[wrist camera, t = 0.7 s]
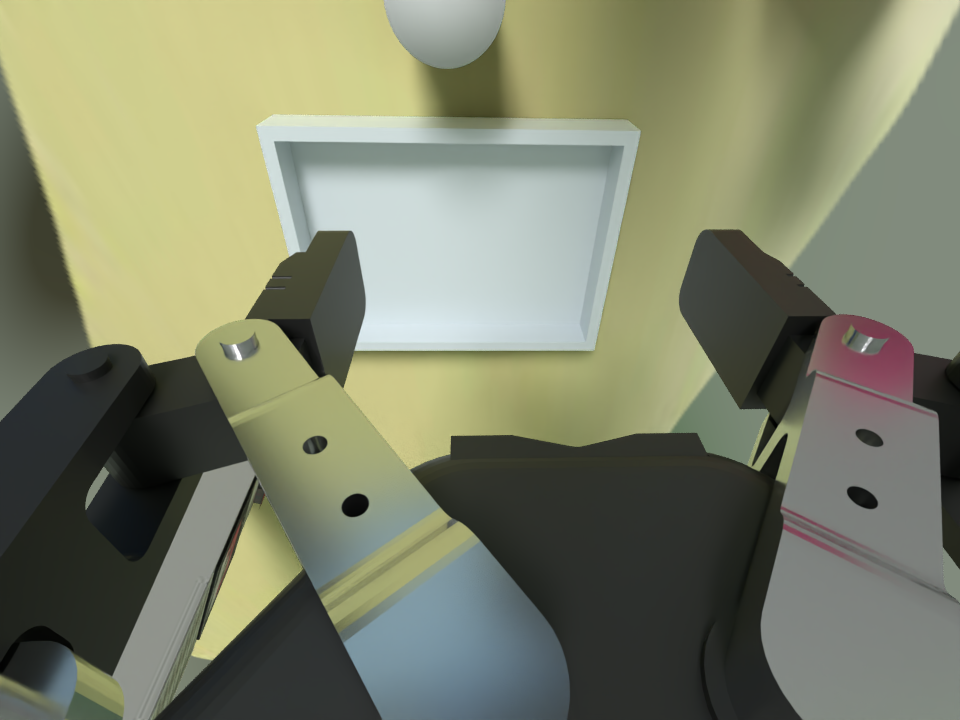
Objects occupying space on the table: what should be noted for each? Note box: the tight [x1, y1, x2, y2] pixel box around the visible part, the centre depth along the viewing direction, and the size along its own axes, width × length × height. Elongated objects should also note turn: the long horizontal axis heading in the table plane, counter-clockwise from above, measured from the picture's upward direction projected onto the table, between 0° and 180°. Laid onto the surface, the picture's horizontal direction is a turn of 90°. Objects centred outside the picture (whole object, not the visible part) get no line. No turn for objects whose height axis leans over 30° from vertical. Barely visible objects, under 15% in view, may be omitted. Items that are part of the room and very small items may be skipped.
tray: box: [256, 114, 641, 351], centre depth 33 cm, size 16×22×3 cm
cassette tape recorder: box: [112, 461, 265, 720], centre depth 36 cm, size 14×6×25 cm, turn 154°
